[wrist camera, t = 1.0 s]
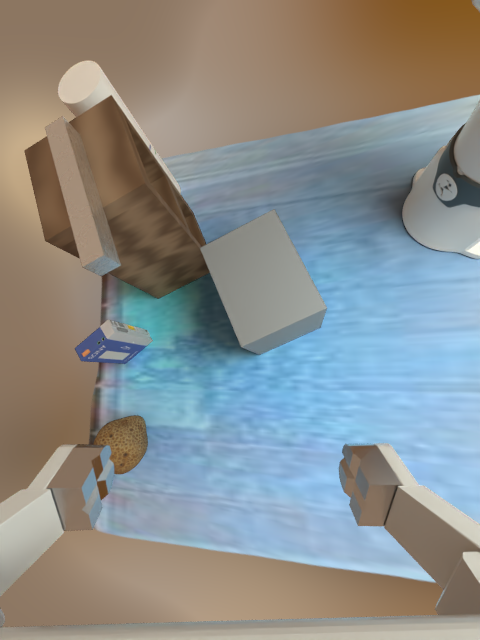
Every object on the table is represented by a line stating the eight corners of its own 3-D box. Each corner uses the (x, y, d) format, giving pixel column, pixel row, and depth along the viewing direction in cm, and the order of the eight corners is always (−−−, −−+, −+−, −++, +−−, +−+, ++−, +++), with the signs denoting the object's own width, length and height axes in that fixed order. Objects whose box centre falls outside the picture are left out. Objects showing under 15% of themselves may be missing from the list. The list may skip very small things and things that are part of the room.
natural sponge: (118, 464, 52) (77, 485, 43) (117, 416, 54) (76, 425, 45) (161, 460, 50) (128, 480, 41) (158, 410, 52) (125, 419, 43)
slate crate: (282, 253, 53) (274, 209, 38) (320, 327, 48) (326, 307, 34) (227, 281, 54) (199, 248, 40) (259, 354, 50) (241, 347, 36)
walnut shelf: (192, 211, 59) (111, 94, 34) (217, 268, 55) (144, 183, 30) (138, 241, 61) (24, 150, 36) (158, 298, 57) (45, 240, 32)
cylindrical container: (150, 209, 62) (53, 106, 38) (154, 181, 63) (63, 65, 39) (178, 207, 60) (95, 99, 37) (182, 179, 62) (105, 56, 38)
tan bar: (79, 134, 34) (62, 115, 32) (121, 265, 29) (103, 255, 27) (63, 144, 35) (44, 127, 32) (101, 276, 29) (82, 267, 27)
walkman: (125, 363, 56) (79, 361, 45) (119, 353, 57) (72, 348, 45) (154, 340, 56) (115, 331, 44) (147, 329, 56) (107, 318, 45)
